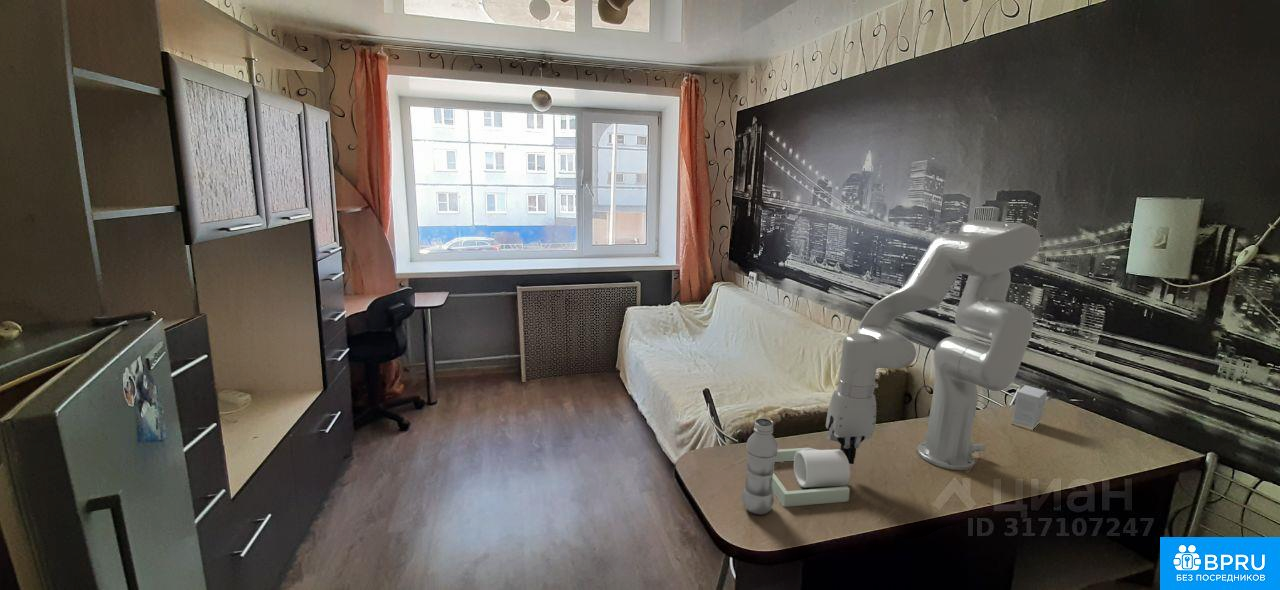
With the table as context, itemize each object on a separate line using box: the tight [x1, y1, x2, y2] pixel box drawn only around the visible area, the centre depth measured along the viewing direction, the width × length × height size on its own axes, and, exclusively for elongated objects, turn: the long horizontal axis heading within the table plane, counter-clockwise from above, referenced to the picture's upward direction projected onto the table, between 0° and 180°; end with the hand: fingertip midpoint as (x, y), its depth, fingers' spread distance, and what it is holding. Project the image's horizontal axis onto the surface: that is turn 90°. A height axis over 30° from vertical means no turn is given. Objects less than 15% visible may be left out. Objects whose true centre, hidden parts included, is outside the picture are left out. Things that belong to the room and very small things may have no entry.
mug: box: [793, 447, 851, 489], centre depth 122 cm, size 12×10×8 cm
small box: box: [1011, 384, 1048, 428], centre depth 152 cm, size 8×6×10 cm
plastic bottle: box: [742, 417, 779, 515], centre depth 109 cm, size 6×7×20 cm
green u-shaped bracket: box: [773, 447, 851, 508], centre depth 122 cm, size 15×18×3 cm
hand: (846, 461), depth 123 cm, fingers closed
